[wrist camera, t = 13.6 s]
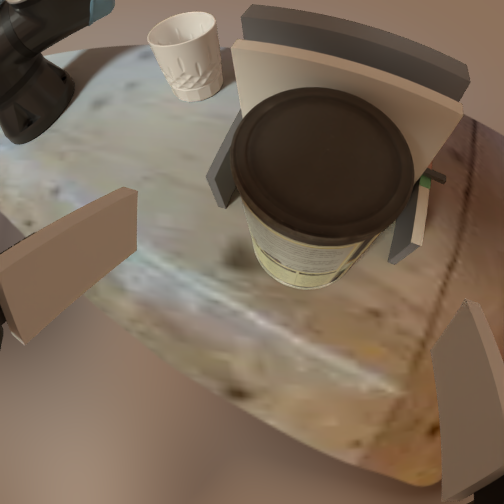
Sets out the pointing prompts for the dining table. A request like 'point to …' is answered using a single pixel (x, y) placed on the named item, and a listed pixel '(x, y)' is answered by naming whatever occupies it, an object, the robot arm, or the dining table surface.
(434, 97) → the curved beige panel
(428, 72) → the grey u-shaped holder
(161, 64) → the white cup
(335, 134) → the coffee can
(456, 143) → the dining table surface
